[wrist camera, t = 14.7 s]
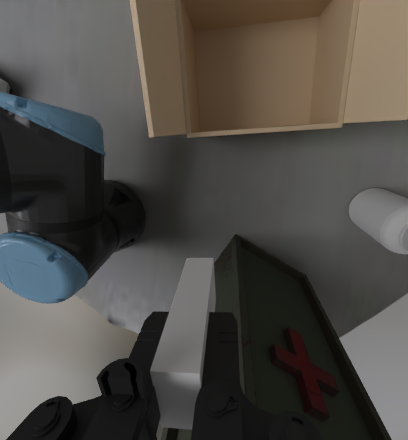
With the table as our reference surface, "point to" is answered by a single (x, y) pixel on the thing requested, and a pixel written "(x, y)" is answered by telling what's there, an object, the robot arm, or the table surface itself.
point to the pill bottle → (382, 217)
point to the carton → (264, 64)
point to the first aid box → (289, 347)
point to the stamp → (4, 86)
